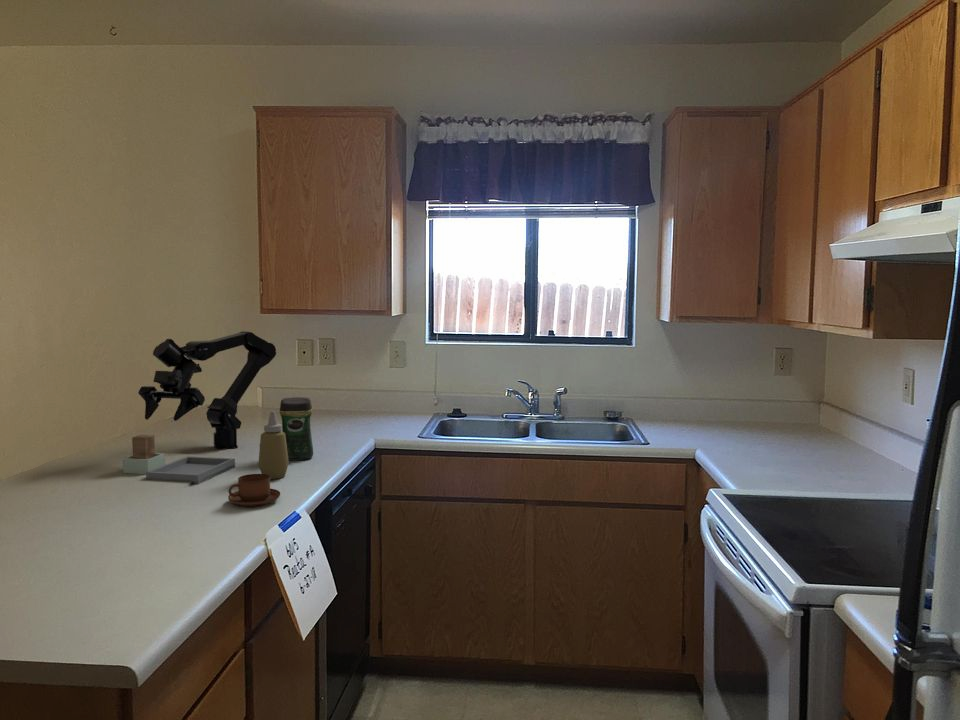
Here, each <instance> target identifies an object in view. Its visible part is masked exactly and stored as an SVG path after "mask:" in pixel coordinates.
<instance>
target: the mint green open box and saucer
mask: <svg viewBox="0 0 960 720" xmlns="http://www.w3.org/2000/svg"><path fill="white" fill-rule="evenodd" d="M233 488H237V489H238V490H236V491H234V492H232V490H233ZM227 491H228V497H227V499H228V501H229V502H231V503H232V504H234V505H237V506H242V507H243V506H244V507H255V506H256V507H257V506H263V505H268V504H271V503H273V502H275V501H277V499H279V498H280V496H281V492H280V490H279V489H274V488H271V479H270V476H269V475H267V474H261V473H251V474H250V473H249V474H244V475H241V476H239V477H238V478H237V483H234V484H232V485H230V486H229V488H228V490H227Z"/></svg>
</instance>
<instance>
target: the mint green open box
mask: <svg viewBox="0 0 960 720" xmlns="http://www.w3.org/2000/svg"><path fill="white" fill-rule="evenodd" d="M163 465H166V456H165V453H156V452H155V457H152V458H150V459H133V454H132V455H128V456H127V457H124V458H122V470H123V471H122V473H123V474H124V473H125V474H135V475H137V474H139V475H140V474H141V475H142V474H143V475H146V472H148V471H150V470H153V469H155V468H158V467H161V466H163Z"/></svg>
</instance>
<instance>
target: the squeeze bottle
mask: <svg viewBox="0 0 960 720" xmlns="http://www.w3.org/2000/svg"><path fill="white" fill-rule="evenodd" d="M259 442H260V443H259V451H258V452H259V453H258V454H259V455H258V464H257V465H258V466H257V467H259V471H260V474H267V475H269V476H270V480H276V479H281V478H283V477H284V478H285V476H286V473H287V471H288V467H289V464H290V463H289V461H290V460H288V452H287V444H286V436H285V433H284V432H282V423H278V419H277V415H276V411H273V410H271V411H270V413H269V417H268V423H265V424H264V425H263V432H262V433H261V434H260V441H259Z"/></svg>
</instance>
